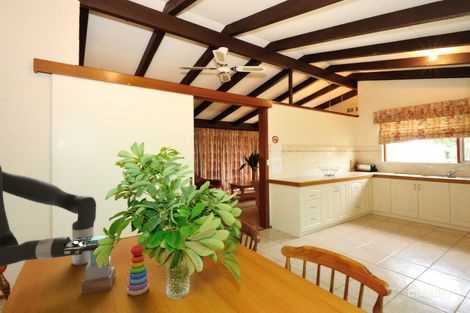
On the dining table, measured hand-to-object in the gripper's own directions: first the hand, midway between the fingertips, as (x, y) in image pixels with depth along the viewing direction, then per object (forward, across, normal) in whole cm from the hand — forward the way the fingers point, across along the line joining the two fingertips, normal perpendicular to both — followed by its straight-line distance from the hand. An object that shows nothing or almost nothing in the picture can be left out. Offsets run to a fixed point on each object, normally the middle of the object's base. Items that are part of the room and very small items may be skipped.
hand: (100, 243), depth 95 cm
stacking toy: (+16, -9, +18) cm, 25 cm away
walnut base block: (0, 0, +18) cm, 18 cm away
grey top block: (0, 0, +13) cm, 13 cm away
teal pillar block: (0, 0, +8) cm, 8 cm away
